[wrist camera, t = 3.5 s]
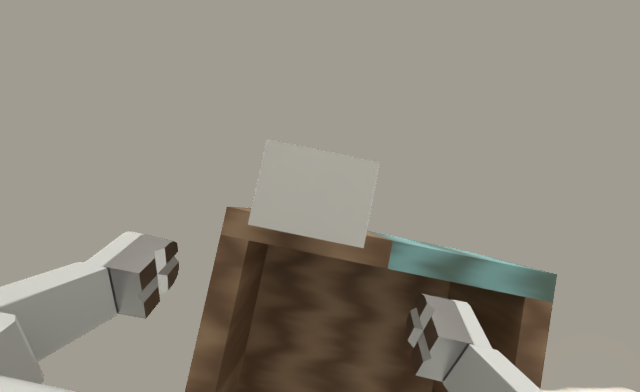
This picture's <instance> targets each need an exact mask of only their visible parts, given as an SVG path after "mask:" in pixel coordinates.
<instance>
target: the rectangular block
mask: <svg viewBox="0 0 640 392" xmlns="http://www.w3.org/2000/svg"><path fill="white" fill-rule="evenodd" d="M379 166H380V162H375V161H371V160H366V159H361V158H356V157H352V156H347V155H342V154H337V153H332V152H328V151H323V150H318V149H313V148H308V147H304V146H299V145H293V144H289V143H284V142H280V141H275V140H270V139H267V140H266V145H265V149H264V154H263V158H262V163H261V167H260V172H259V176H258V181H257V185H256V190H255V194H254V199H253V203H252V208H251V212H250V217H249V221H248V225H253V226H257V227H262V228H267V229H272V230H277V231H282V232H287V233H292V234H296V235H301V236H306V237H311V238H316V239H321V240H326V241H330V242H335V243H340V244H345V245H350V246H355V247H360V248H364V244H365V239H366V234H367V228H368V223H369V218H370V212H371V208H372V202H373V197H374V192H375V186H376V182H377V177H378V171H379Z"/></svg>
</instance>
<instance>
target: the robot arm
mask: <svg viewBox="0 0 640 392" xmlns="http://www.w3.org/2000/svg"><path fill="white" fill-rule="evenodd" d="M177 252H178V248H177V243H176V242H174V241H171V240H167V239H162V238H158V237H154V236H150V235H144V234H140V233H136V232H131V231H129V232H125V233H123V234H122V235H120V236H119V237H118V238H117V239H115V240H114V241H112V242H111V243H110V244H108V245H107V246H106V247H104V248H103V249H102V250H100V251H99V252H98V253H96V254H95V255H94V256H92V257H91V258H90V259H88V260H87V261H86V262H85V263H82V262H77V263H73V264H70V265H67V266H64V267H61V268H58V269H55V270H51V271H48V272H45V273H42V274H39V275H36V276H33V277H30V278H26V279H23V280H20V281H17V282H14V283H11V284H7V285H4V286H1V287H0V392H78V391H73V390H68V389H63V388H58V387H54V386H49V385H43V384H41V383H42V382H43V381H44V374H43V372H42V370H41V368H40V366H39V364H38V361H40V360H41V359H43V358H45V357H46V356H48V355H50V354H52V353H53V352H55V351H57V350H58V349H60V348H62V347H64V346H65V345H67V344H69V343H71V342H72V341H74V340H75V339H77V338H79V337H81V336H82V335H84V334H86V333H88V332H89V331H91V330H93V329H95V328H96V327H98V326H100V325H101V324H103V323H105V322H107V321H108V320H110V319H112V318H113V317H115V316H117V314H123V315H128V316H134V317H139V318H145V319H146V318H147V317H148V315H149V314H150V313H151V311H152V310H153V309H154V308H155V307H156V305H157V304H158V302H160V297H159V295H160V294H161V293H164V292H166V291H168V290H169V289H170V287H171V286H172V285H173V283H174V281H175V279H176V277H177V275H178V270H179V262H178V260H177V259H176V258H175V257H174V255H175V254H176V253H177ZM415 304H416V308H414V309H412V310H411V311H410V312H409V315H408V317H407V321H406V335H407V340H408V342H409V343H410V344H411V345H412V346H413V350H412V352H411V358H412V362H413V367H414V371H415V375H416V376H420V377H425V378H429V379H433V380H437V381H441V382H443V385H444V386H445V388H446V389H447V390H448V392H543V391H542V390H541V389H539V388H538V387H537V386H536V385H535V384H534V383H533V382H532V381H531V380H530V379H529V378H527V377H526V376H525V375H524V374H523V373H522V372H521V371H520V370H519V369H518V368H517V367H515V366H514V365H513V364H512V363H511V362H510V361H509V360H508V359H507V358H506V357H505V356H503V355H502V354H501V353H500V352H499V351H498V350H495V349H492V347H491V345H490V343H489V341H488V339H487V337H486V335H485V333H484V331H483V329H482V328H481V326H480V324H479V322H478V320H477V318H476V316H475V314H474V312H473V310H472V308H471V306H470V305H469V304H468V303H467V302H462V301H457V300H452V299H451V300H450V299H446V298H441V297H436V296H431V295H426V294H422V293H421V294H419V295H418V296H417V298H416V300H415Z"/></svg>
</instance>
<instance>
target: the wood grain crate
mask: <svg viewBox="0 0 640 392" xmlns="http://www.w3.org/2000/svg"><path fill="white" fill-rule="evenodd" d="M250 212H251V208H239V207H227V209H226V214H225V218H224V223H223V227H222V231H221V236H220V240H219V245H218V249H217V253H216V258H215V262H214V267H213V271H212V276H211V280H210V284H209V288H208V293H207V298H206V302H205V306H204V311H203V315H202V319H201V324H200V328H199V332H198V337H197V341H196V346H195V350H194V355H193V359H192V363H191V367H190V372H189V376H188V381H187V385H186V389H185V392H448V390H447V389H446V388H445V386H444V385H443V382H441V381H437V380H433V379H429V378H425V377H420V376H416V375H415V371H414V367H413V362H412V358H411V352H412V350H413V346H412V345H411V344H410V343H409V342H408V340H407V335H406V321H407V317H408V315H409V312H410V311H411V310H412V309H414V308H416V304H415V300H416V298H417V296H418V295H419V294H421V293H422V294H426V295H431V296H436V297H441V298H446V299H450V300H451V299H452V300H457V301H462V302H467V303H468V304H469V305H470V306H471V308H472V310H473V312H474V314H475V316H476V318H477V320H478V322H479V324H480V326H481V328H482V329H483V331H484V333H485V335H486V337H487V339H488V341H489V343H490V345H491V347H492V349H495V350H498V351H499V352H500V353H501V354H502V355H503V356H505V357H506V358H507V359H508V360H509V361H510V362H511V363H512V364H513V365H514V366H515V367H517V368H518V369H519V370H520V371H521V372H522V373H523V374H524V375H525V376H526V377H527V378H529V379H530V380H531V381H532V382H533V383H534V384H535V385H536V386H537V387H538V388H539V389H540V387H541V380H542V372H543V366H544V358H545V352H546V345H547V339H548V332H549V325H550V318H551V311H552V304H553V298H554V291H555V284H556V277H557V274H553V273H549V272H545V271H541V270H537V269H533V268H529V267H526V266H522V265H518V264H514V263H510V262H506V261H502V260H498V259H494V258H491V257H487V256H483V255H479V254H475V253H471V252H467V251H463V250H458V249H453V248H449V247H444V246H439V245H434V244H429V243H424V242H419V241H415V240H409V239H405V238H400V237H395V236H390V235H385V234H380V233H375V232H371V231H367V234H366V239H365V244H364V248H360V247H355V246H350V245H345V244H340V243H335V242H330V241H326V240H321V239H316V238H311V237H306V236H301V235H296V234H292V233H287V232H282V231H277V230H272V229H267V228H262V227H257V226H253V225H248V221H249V217H250Z"/></svg>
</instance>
